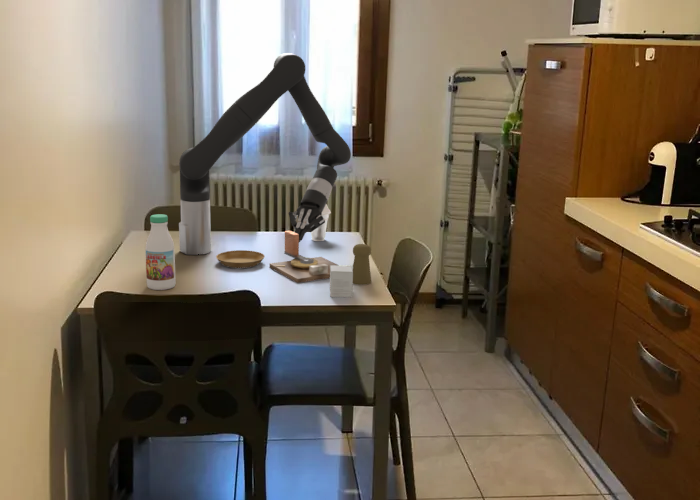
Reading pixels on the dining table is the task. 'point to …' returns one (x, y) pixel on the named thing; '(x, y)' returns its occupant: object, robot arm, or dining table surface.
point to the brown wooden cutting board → (304, 270)
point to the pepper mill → (361, 264)
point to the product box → (341, 281)
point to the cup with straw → (321, 230)
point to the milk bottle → (160, 255)
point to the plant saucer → (240, 258)
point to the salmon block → (296, 251)
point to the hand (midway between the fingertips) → (296, 240)
